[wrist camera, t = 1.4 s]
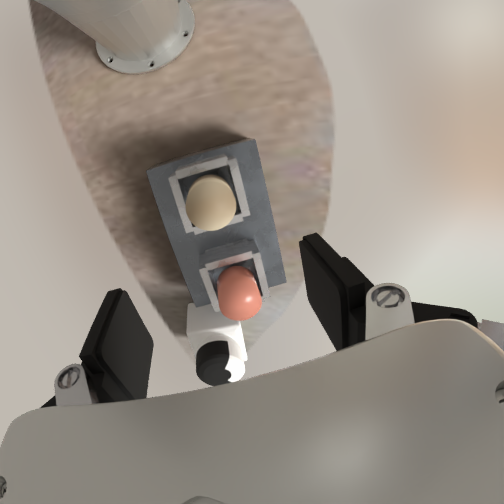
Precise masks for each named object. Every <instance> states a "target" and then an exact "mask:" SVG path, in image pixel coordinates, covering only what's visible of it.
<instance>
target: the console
mask: <svg viewBox="0 0 504 504" xmlns="http://www.w3.org/2000/svg"><path fill="white" fill-rule="evenodd" d="M146 172H147V176H148V179H149V182H150V185H151V188H152V191H153V194H154V197H155V200H156V203H157V206H158V209H159V212H160V215H161V218H162V221H163V223H164V226H165V229H166V232H167V235H168V237H169V240H170V243H171V245H172V248H173V251H174V253H175V256H176V259H177V261H178V264H179V267H180V269H181V272H182V274H183V277H184V279H185V282H186V284H187V287H188V289H189V292H190V294H191V296H192V299H193V301H194V304H195V306H196V308H197V307H201V306H204V305H208V304H212V306H213V308H214V311H215V312H218V311H220V308H219V301H218V291H217V279H218V277H219V275H220V273H221V272H222V271H224V270H225V269H227V268H229V267H232V266H242V267H245V268H247V269H249V270H250V271H251V272H252V273H253V275H254V278H255V281H256V284H257V287H258V289H259V292H260V295H261V299H262V302H264V299H265V298H268V297H271V296H270V292H269V287H272V286H276V285H279V284H283V283H286V277H285V272H284V267H283V262H282V257H281V253H280V248H279V243H278V238H277V234H276V229H275V224H274V220H273V215H272V211H271V206H270V201H269V197H268V193H267V188H266V184H265V179H264V175H263V171H262V166H261V162H260V158H259V153H258V149H257V145H256V141H255V139H250V138H247V139H243V140H239V141H235V142H231V143H227V144H223V145H219V146H215V147H212V148H208V149H205V150H201V151H198V152H194V153H191V154H188V155H184V156H181V157H178V158H175V159H172V160H168V161H165V162H162V163H159V164H156V165H154V166H152V167H151V168H149V169H148V170H147V171H146ZM204 175H217V176H220V177H222V178H223V179H224V180H226V182H227V183H228V184H229V186H230V188H231V190H232V192H233V195H234V197H235V200H236V212H235V215H234V217H233V219H232V220H231V221H230V223H229V224H227V225H226V226H225V227H223V228H221V229H219V230H215V231H207V230H202V229H200V228H198V227H196V226H195V225H194V224H193V223H192V222H191V221H190V220H189V218H188V216H187V214H186V208H185V207H186V200H187V196H188V192H189V189H190V187H191V185H192V183H193V182H194V181H195V180H196V179H198V178H199V177H201V176H204Z"/></svg>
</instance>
